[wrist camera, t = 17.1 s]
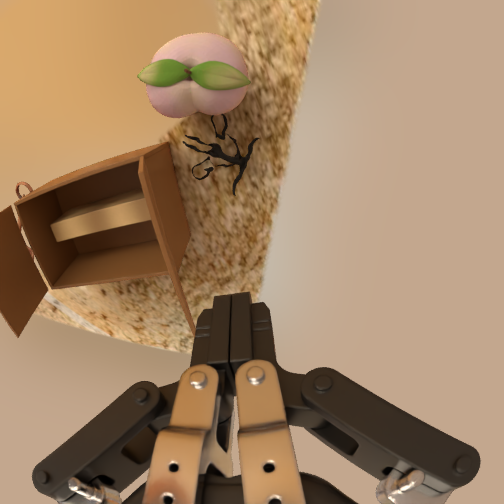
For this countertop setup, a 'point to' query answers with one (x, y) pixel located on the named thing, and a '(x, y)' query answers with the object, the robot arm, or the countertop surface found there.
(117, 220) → the tan wooden block
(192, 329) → the flap
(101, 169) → the carton
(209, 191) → the countertop surface
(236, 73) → the decorative fruit
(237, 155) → the creature
